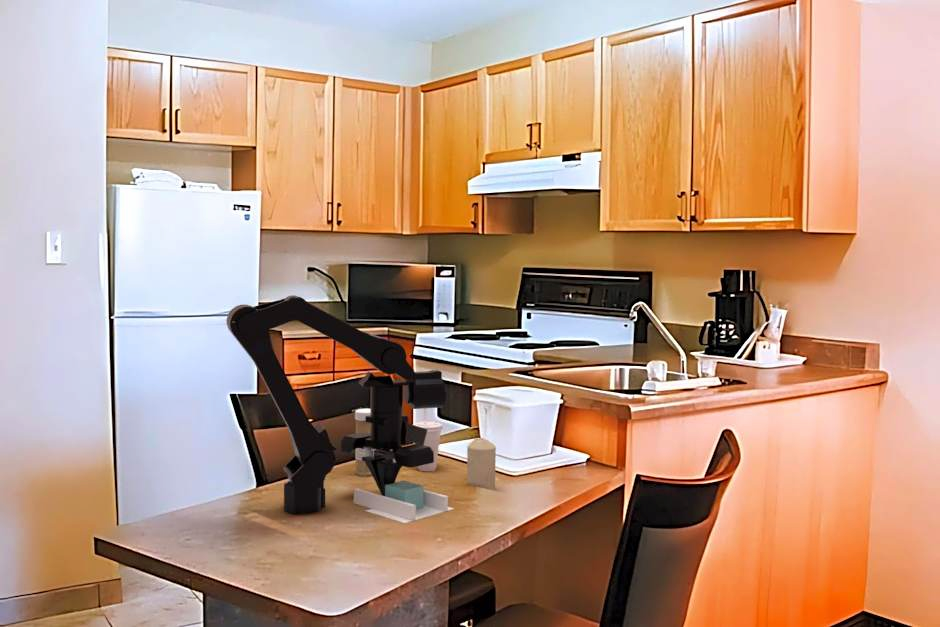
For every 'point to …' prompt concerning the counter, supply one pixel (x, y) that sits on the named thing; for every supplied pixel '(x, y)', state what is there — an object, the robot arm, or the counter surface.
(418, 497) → the block
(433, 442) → the smoothie
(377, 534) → the counter surface
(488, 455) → the tan upright block
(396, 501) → the trough
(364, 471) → the sprinkles bottle
